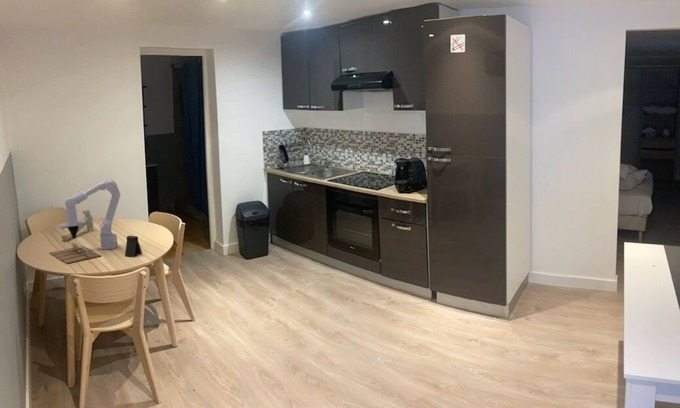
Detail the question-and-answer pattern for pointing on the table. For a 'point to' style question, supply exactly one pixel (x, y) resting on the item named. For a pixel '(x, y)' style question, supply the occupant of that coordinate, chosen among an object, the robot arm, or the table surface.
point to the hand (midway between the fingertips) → (74, 237)
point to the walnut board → (73, 255)
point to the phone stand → (132, 247)
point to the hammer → (88, 222)
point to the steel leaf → (83, 251)
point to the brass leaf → (76, 246)
